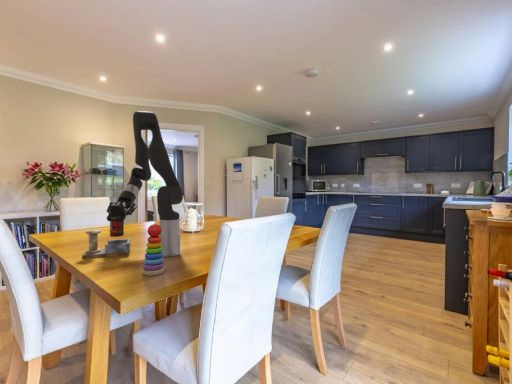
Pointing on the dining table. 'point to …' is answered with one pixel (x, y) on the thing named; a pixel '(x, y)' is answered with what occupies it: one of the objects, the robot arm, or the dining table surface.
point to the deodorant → (116, 221)
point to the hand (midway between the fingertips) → (114, 220)
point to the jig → (110, 249)
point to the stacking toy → (153, 252)
